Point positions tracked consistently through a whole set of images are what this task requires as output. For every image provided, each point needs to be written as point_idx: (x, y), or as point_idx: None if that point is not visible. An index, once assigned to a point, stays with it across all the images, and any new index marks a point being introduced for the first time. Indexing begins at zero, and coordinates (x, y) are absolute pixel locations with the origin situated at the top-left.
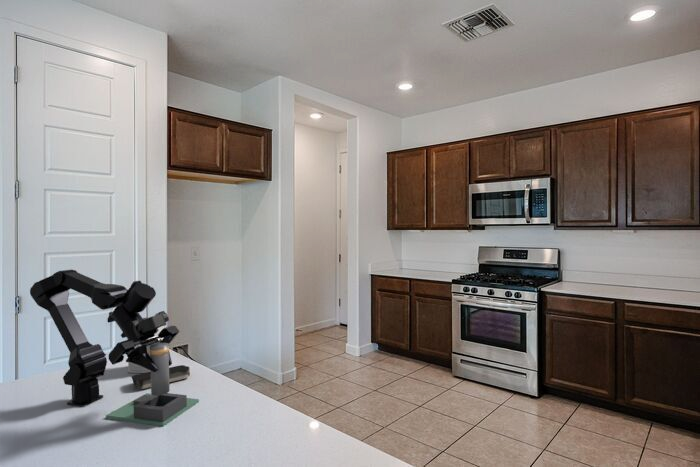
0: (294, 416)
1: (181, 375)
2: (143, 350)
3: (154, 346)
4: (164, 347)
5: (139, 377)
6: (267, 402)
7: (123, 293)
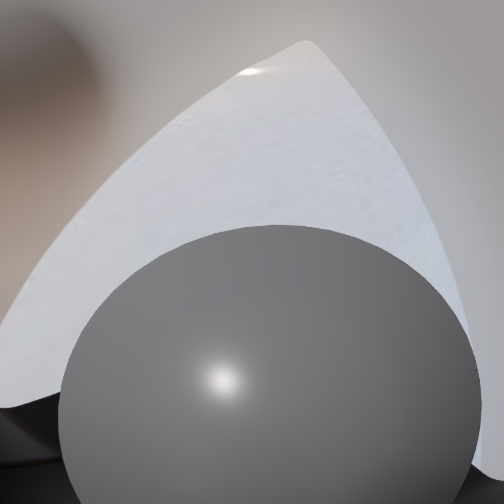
0: (224, 90)
1: None
2: (501, 496)
3: (408, 485)
4: (346, 252)
5: None
6: (161, 139)
7: None
